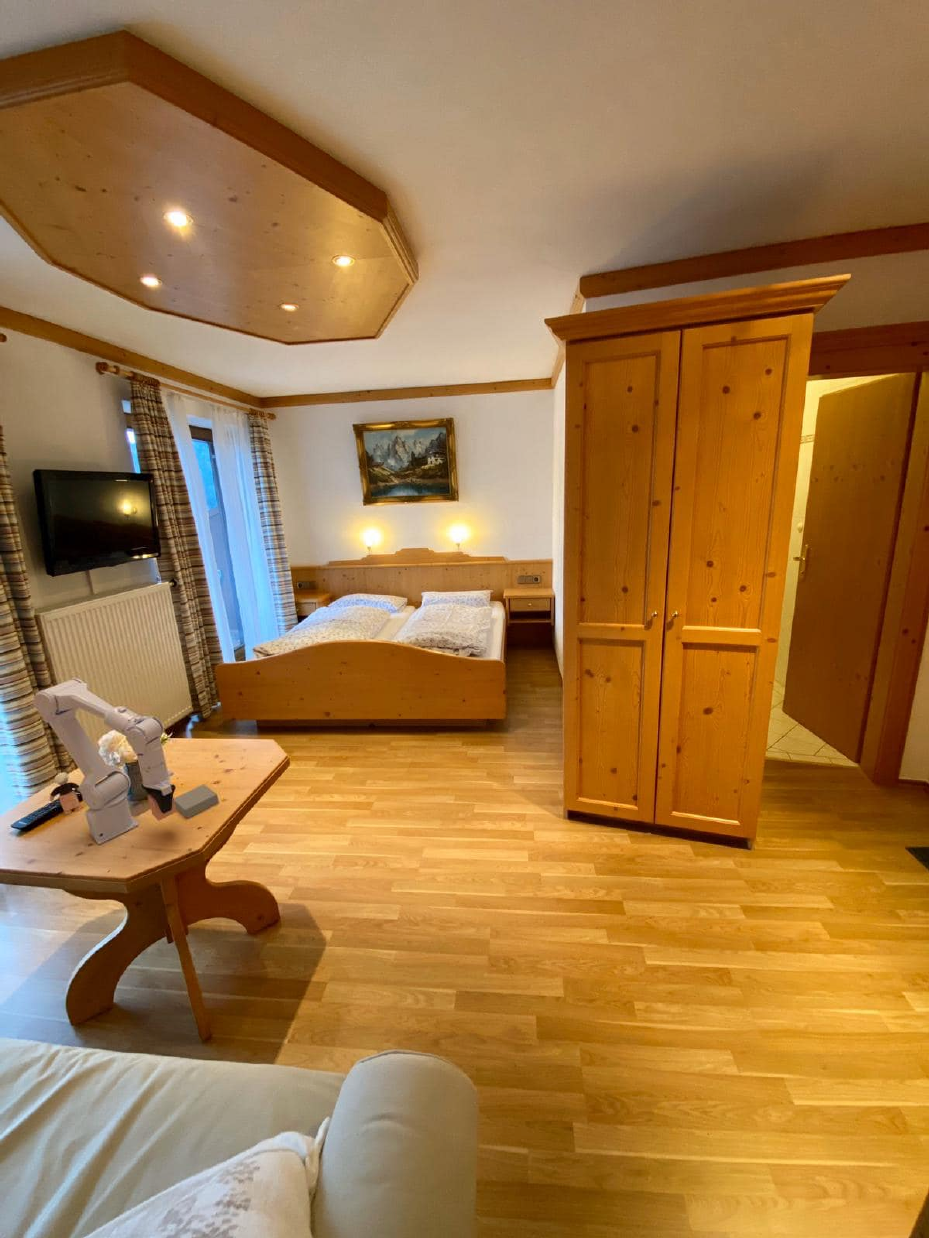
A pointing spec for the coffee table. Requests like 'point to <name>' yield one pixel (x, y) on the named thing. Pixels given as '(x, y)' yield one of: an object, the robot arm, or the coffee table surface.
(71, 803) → the grandmother figurine
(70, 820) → the coffee table surface
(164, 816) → the terracotta block
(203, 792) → the gray block
